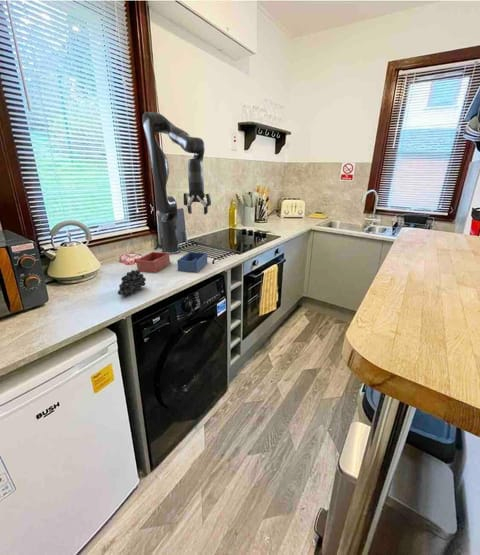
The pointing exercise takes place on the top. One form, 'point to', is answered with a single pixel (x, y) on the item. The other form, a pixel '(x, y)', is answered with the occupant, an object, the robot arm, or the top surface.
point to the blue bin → (192, 262)
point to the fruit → (131, 282)
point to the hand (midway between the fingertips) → (197, 213)
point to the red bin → (153, 262)
